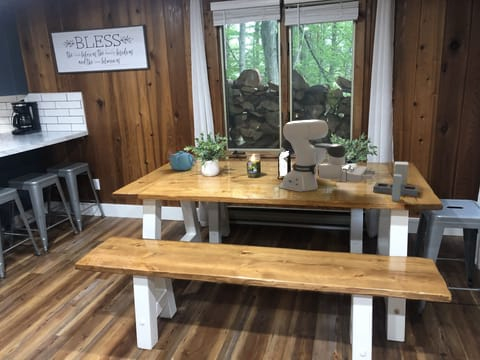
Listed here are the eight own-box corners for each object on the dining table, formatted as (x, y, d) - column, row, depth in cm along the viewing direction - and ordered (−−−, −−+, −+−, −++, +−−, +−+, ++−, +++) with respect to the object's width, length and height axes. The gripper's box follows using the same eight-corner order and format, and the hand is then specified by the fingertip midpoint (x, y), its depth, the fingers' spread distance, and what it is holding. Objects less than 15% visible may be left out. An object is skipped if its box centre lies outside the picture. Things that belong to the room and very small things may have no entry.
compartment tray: (373, 192, 212) (373, 186, 211) (376, 187, 220) (376, 182, 219) (416, 196, 201) (417, 191, 200) (418, 191, 209) (419, 186, 209)
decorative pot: (173, 173, 272) (171, 154, 268) (169, 168, 286) (167, 150, 282) (196, 170, 277) (194, 151, 273) (190, 165, 292) (189, 148, 288)
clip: (391, 200, 197) (393, 175, 194) (392, 198, 200) (394, 174, 197) (399, 201, 195) (400, 176, 192) (400, 199, 199) (401, 174, 195)
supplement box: (407, 186, 219) (408, 164, 216) (393, 185, 222) (394, 164, 219) (406, 182, 226) (408, 161, 223) (393, 182, 229) (394, 161, 225)
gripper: (351, 173, 217) (376, 175, 211) (341, 183, 200) (369, 185, 194) (351, 162, 216) (377, 164, 209) (342, 171, 198) (370, 173, 192)
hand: (373, 174), depth 201 cm, fingers open, 8 cm apart
